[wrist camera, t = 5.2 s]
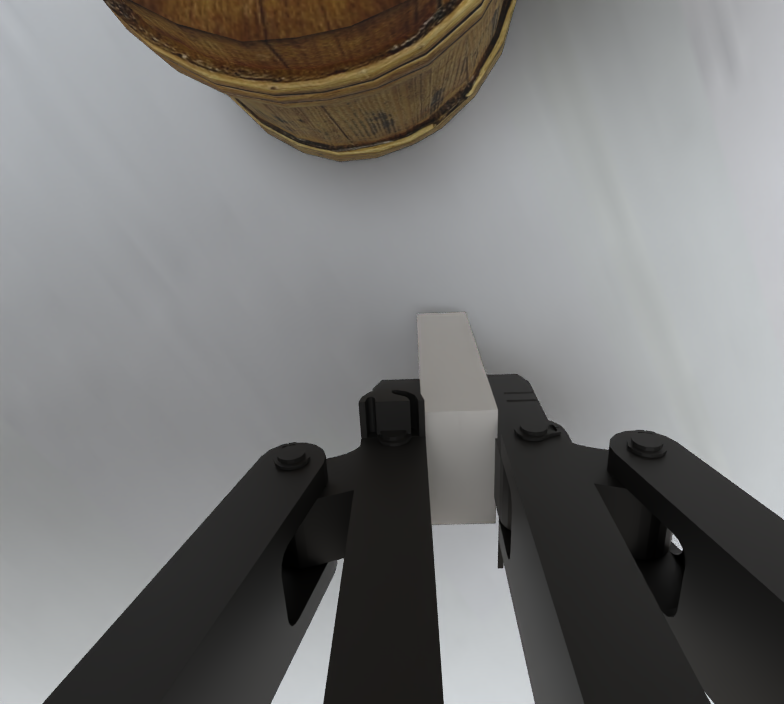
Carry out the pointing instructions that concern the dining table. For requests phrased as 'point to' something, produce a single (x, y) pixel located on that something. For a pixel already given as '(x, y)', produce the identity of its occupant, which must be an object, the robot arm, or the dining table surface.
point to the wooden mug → (331, 63)
